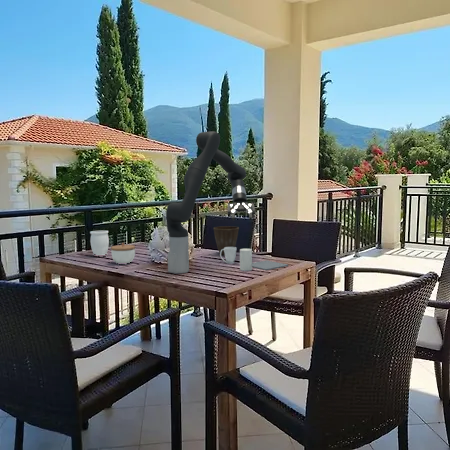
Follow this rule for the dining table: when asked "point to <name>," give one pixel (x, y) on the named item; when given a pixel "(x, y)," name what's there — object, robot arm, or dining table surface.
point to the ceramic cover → (245, 259)
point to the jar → (99, 242)
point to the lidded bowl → (123, 253)
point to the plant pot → (225, 237)
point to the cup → (229, 254)
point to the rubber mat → (267, 265)
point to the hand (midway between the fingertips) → (242, 219)
